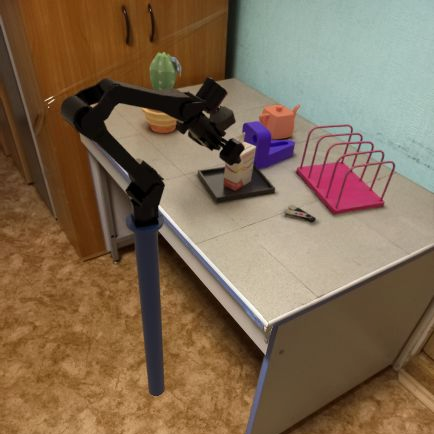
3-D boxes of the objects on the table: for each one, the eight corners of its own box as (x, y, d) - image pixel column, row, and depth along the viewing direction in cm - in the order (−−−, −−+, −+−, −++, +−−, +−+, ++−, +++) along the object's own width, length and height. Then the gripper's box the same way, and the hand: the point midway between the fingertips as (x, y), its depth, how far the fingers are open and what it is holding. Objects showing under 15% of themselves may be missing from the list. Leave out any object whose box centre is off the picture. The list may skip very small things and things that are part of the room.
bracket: (254, 169, 139) (259, 135, 131) (239, 154, 146) (243, 120, 137) (300, 160, 145) (307, 127, 137) (283, 146, 152) (289, 113, 143)
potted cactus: (178, 139, 150) (178, 63, 133) (136, 133, 151) (131, 57, 134) (187, 121, 161) (188, 49, 144) (148, 116, 162) (144, 43, 145)
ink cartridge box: (235, 192, 128) (240, 146, 117) (222, 185, 130) (226, 140, 119) (251, 181, 132) (258, 136, 122) (239, 175, 134) (244, 130, 124)
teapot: (248, 130, 159) (252, 102, 152) (287, 123, 166) (292, 96, 158) (264, 144, 152) (269, 115, 145) (305, 136, 159) (311, 108, 151)
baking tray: (216, 203, 124) (216, 198, 122) (197, 175, 134) (197, 170, 133) (274, 193, 130) (275, 188, 128) (252, 167, 140) (252, 162, 139)
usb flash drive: (316, 220, 120) (316, 217, 120) (304, 227, 118) (305, 224, 117) (292, 207, 125) (293, 204, 124) (281, 213, 122) (281, 210, 121)
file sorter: (341, 166, 144) (354, 121, 133) (383, 207, 128) (403, 159, 117) (295, 171, 140) (305, 125, 128) (333, 215, 123) (349, 166, 112)
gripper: (243, 113, 103) (268, 145, 116) (197, 88, 113) (225, 120, 126) (216, 151, 105) (244, 178, 118) (173, 123, 115) (203, 151, 128)
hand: (229, 155), depth 123 cm, fingers open, 9 cm apart
